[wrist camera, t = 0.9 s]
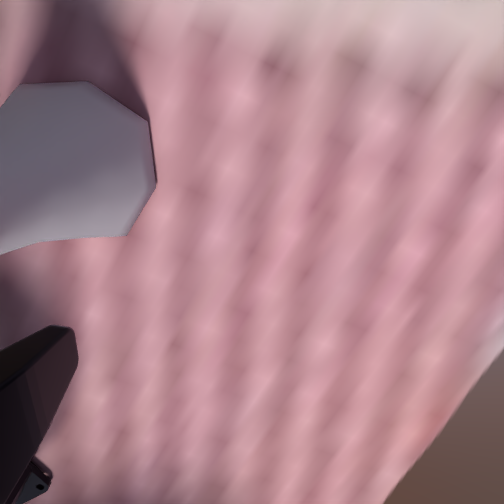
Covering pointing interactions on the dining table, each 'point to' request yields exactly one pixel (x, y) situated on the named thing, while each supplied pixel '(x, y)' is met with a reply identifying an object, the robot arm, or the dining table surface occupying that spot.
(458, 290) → the dining table surface
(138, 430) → the dining table surface
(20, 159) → the flask
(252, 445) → the dining table surface
